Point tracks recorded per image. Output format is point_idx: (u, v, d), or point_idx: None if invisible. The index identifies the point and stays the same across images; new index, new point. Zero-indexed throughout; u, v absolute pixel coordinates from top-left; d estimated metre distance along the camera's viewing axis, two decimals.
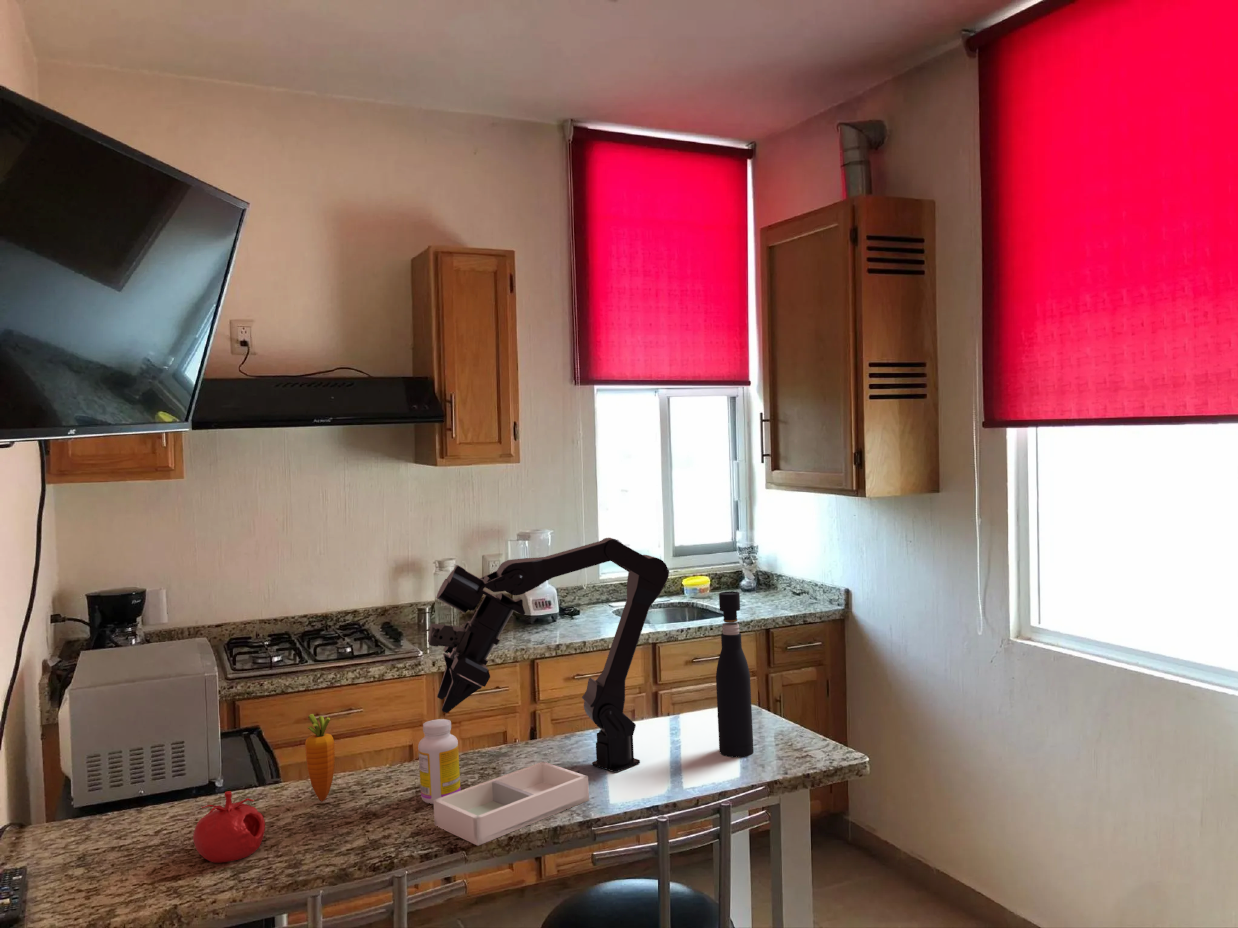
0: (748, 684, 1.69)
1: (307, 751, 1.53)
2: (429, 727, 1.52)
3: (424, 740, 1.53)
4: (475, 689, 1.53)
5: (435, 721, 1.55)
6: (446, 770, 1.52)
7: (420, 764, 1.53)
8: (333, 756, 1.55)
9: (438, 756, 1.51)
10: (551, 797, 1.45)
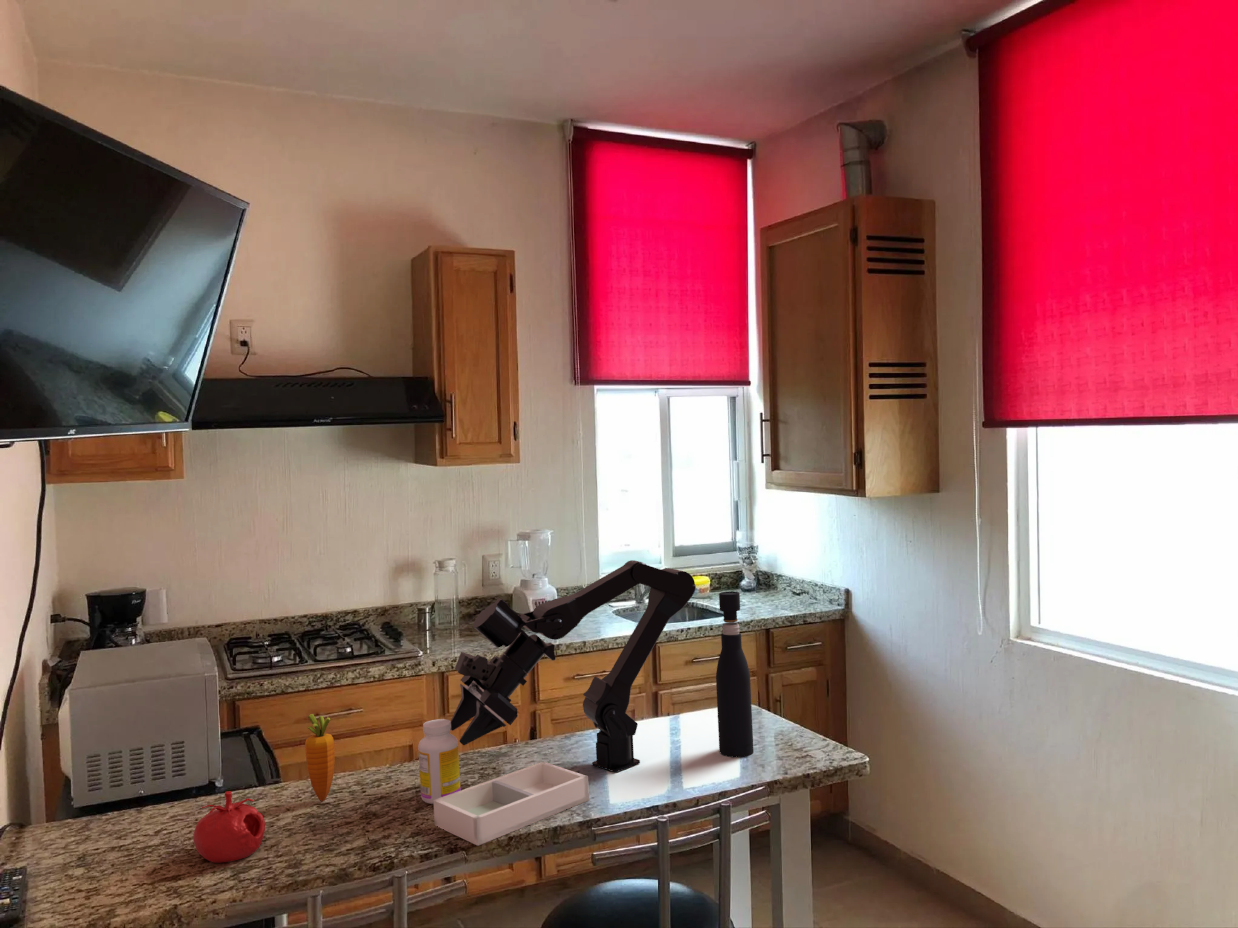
0: (748, 684, 1.69)
1: (307, 751, 1.53)
2: (429, 727, 1.52)
3: (424, 740, 1.53)
4: (498, 726, 1.51)
5: (435, 721, 1.55)
6: (446, 770, 1.52)
7: (420, 764, 1.53)
8: (333, 756, 1.55)
9: (438, 756, 1.51)
10: (551, 797, 1.45)
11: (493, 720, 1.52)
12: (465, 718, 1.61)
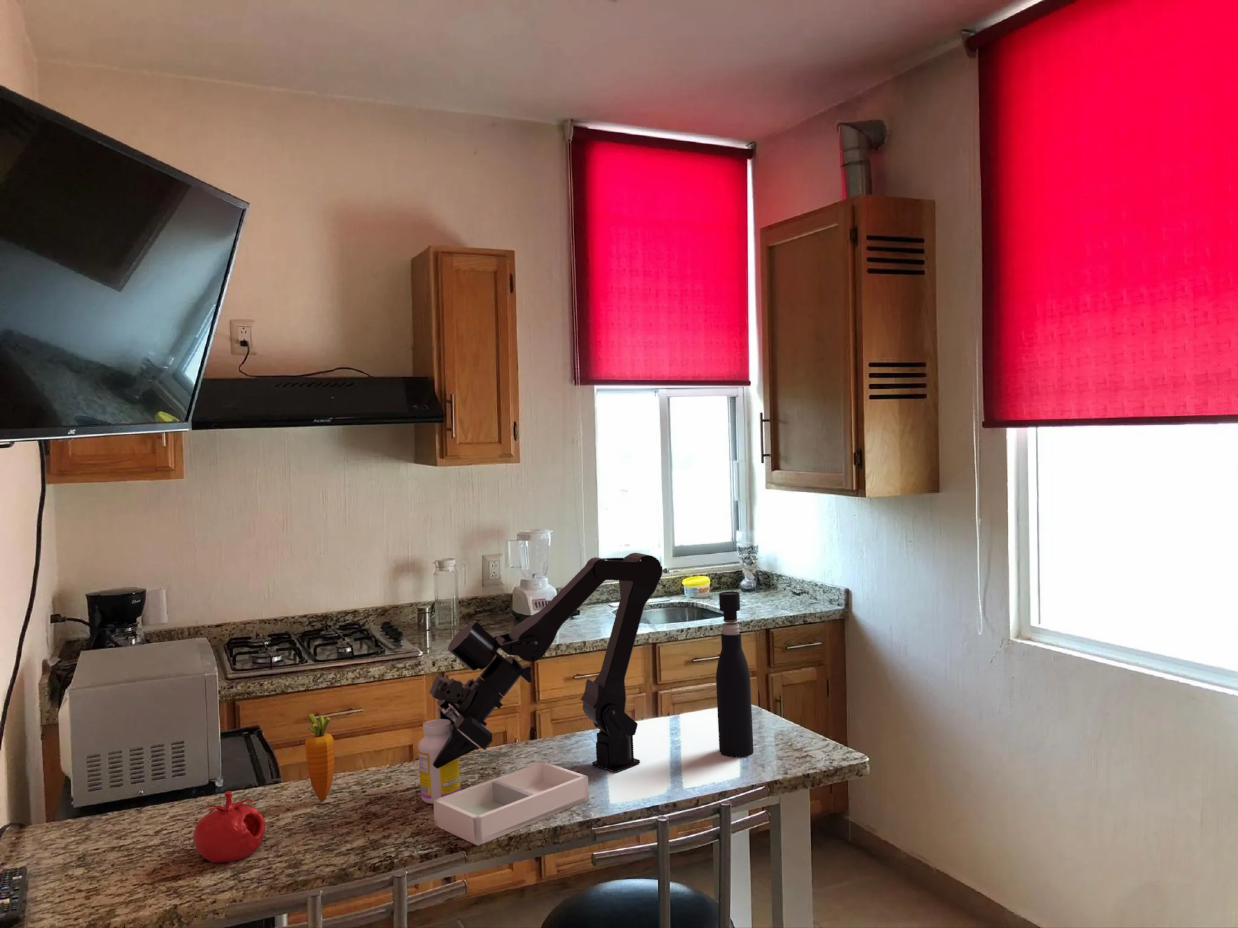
0: (748, 684, 1.69)
1: (307, 751, 1.53)
2: (429, 727, 1.52)
3: (424, 740, 1.53)
4: (471, 749, 1.51)
5: (435, 721, 1.55)
6: (446, 770, 1.52)
7: (420, 764, 1.53)
8: (333, 756, 1.55)
9: None
10: (551, 797, 1.45)
11: (466, 743, 1.51)
12: None
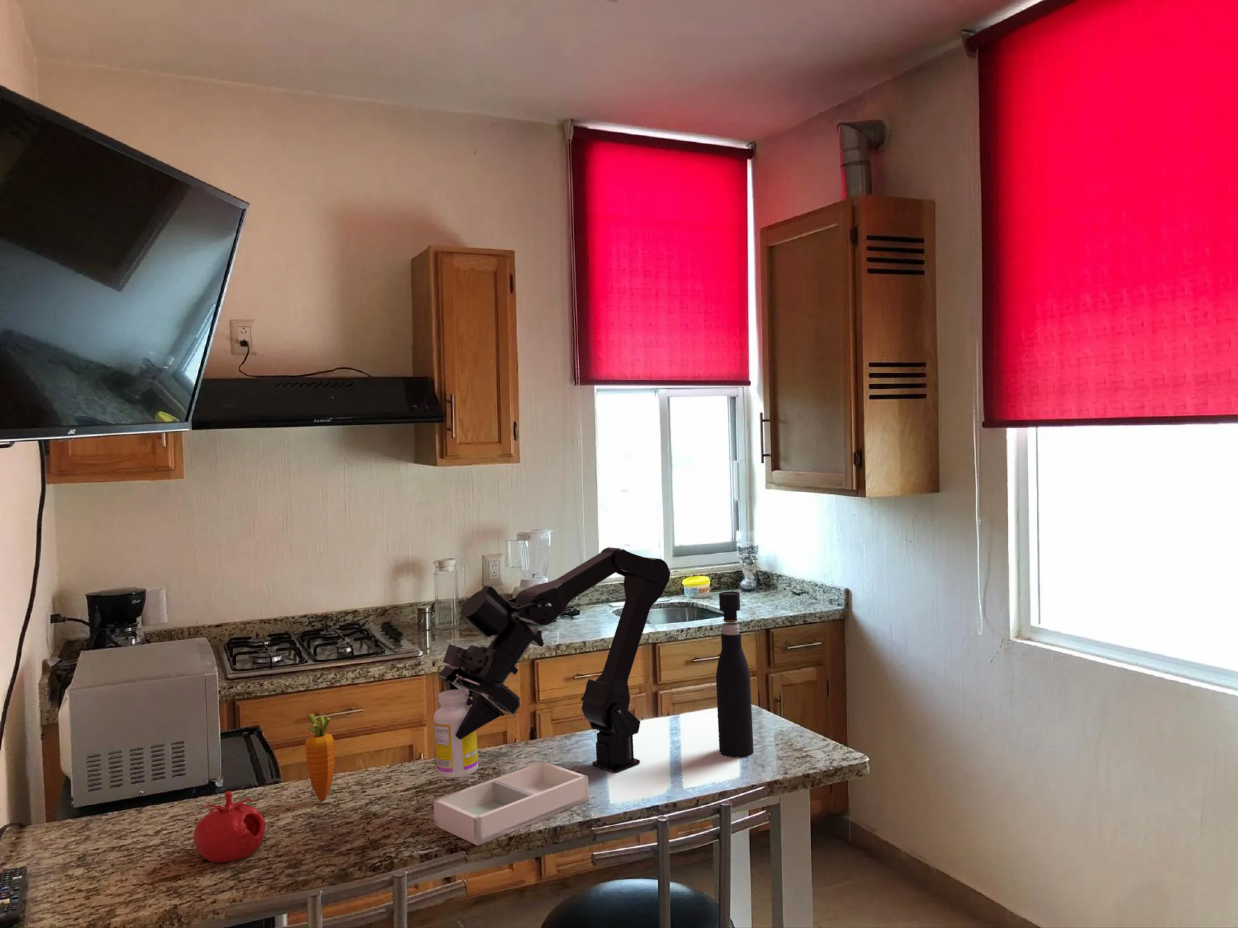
0: (748, 684, 1.69)
1: (307, 751, 1.53)
2: (448, 697, 1.45)
3: (442, 712, 1.46)
4: (495, 716, 1.46)
5: (449, 692, 1.48)
6: (468, 741, 1.45)
7: (438, 737, 1.45)
8: (333, 756, 1.55)
9: None
10: (551, 797, 1.45)
11: (490, 710, 1.46)
12: None
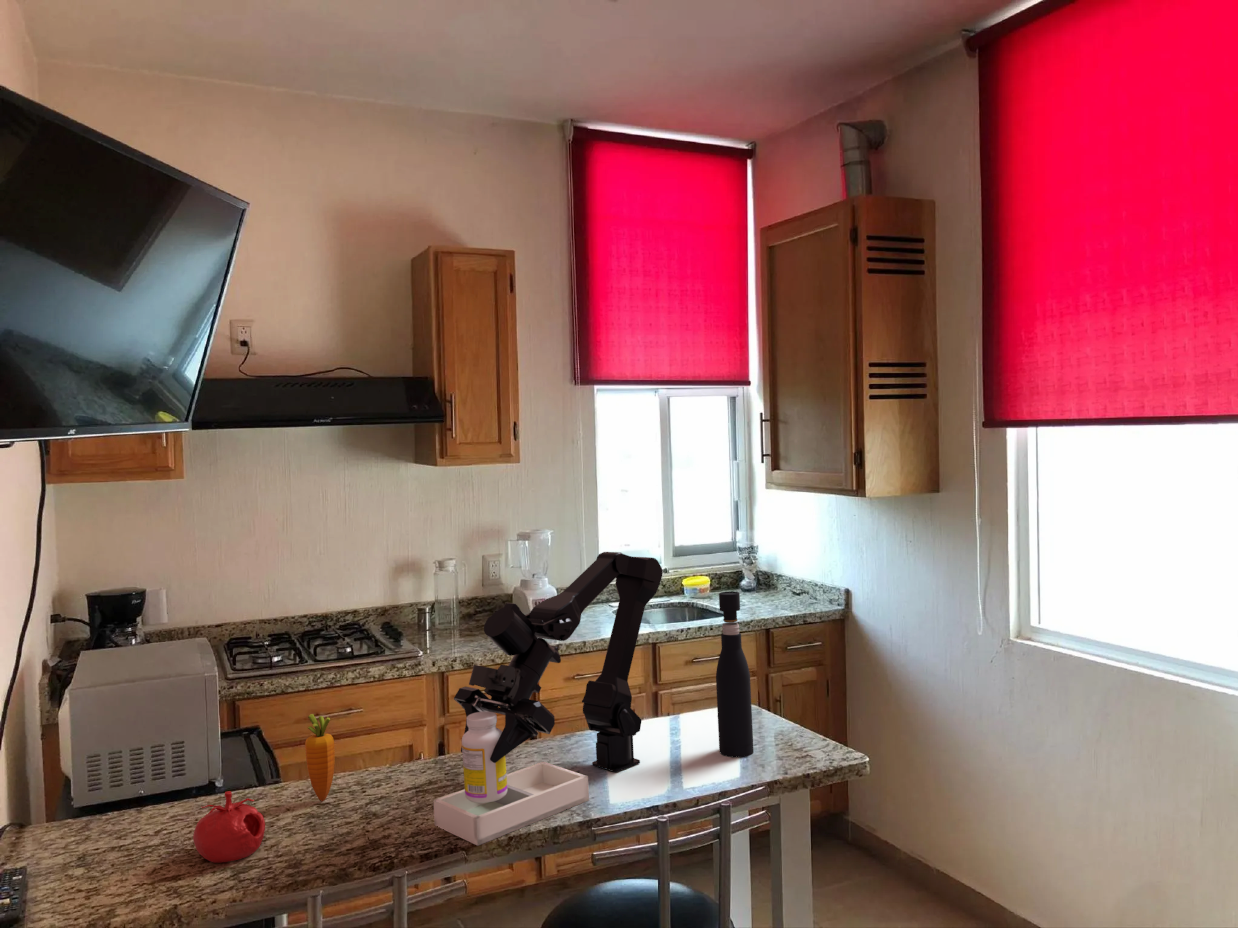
0: (748, 684, 1.69)
1: (307, 751, 1.53)
2: (480, 720, 1.40)
3: (473, 736, 1.40)
4: (528, 736, 1.42)
5: (476, 714, 1.43)
6: (501, 764, 1.41)
7: (470, 762, 1.40)
8: (333, 756, 1.55)
9: None
10: (551, 797, 1.45)
11: (522, 731, 1.42)
12: None
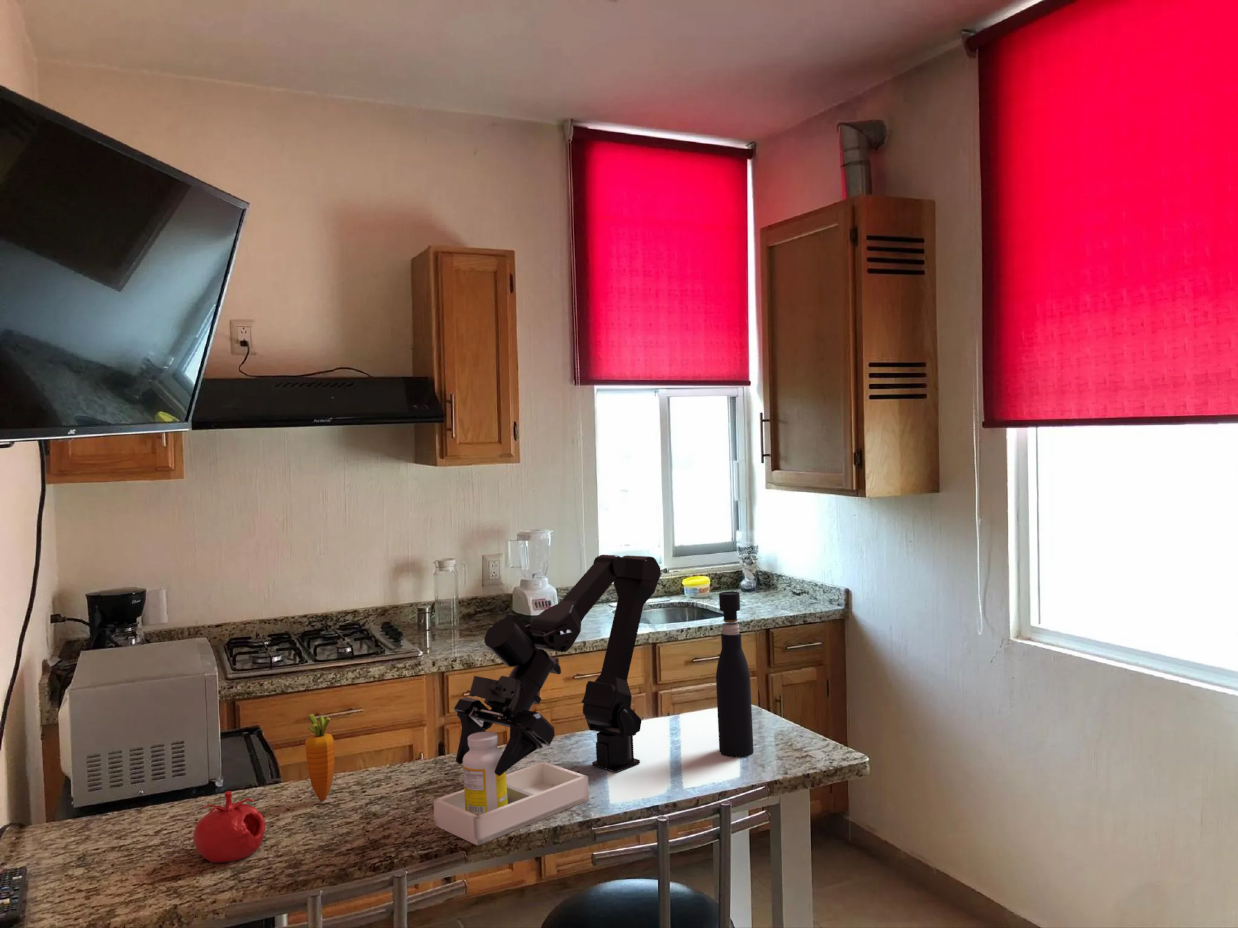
0: (748, 684, 1.69)
1: (307, 751, 1.53)
2: (481, 740, 1.41)
3: (474, 756, 1.41)
4: (533, 749, 1.42)
5: (477, 734, 1.44)
6: (501, 784, 1.41)
7: (471, 782, 1.40)
8: (333, 756, 1.55)
9: None
10: (551, 797, 1.45)
11: (527, 744, 1.41)
12: None
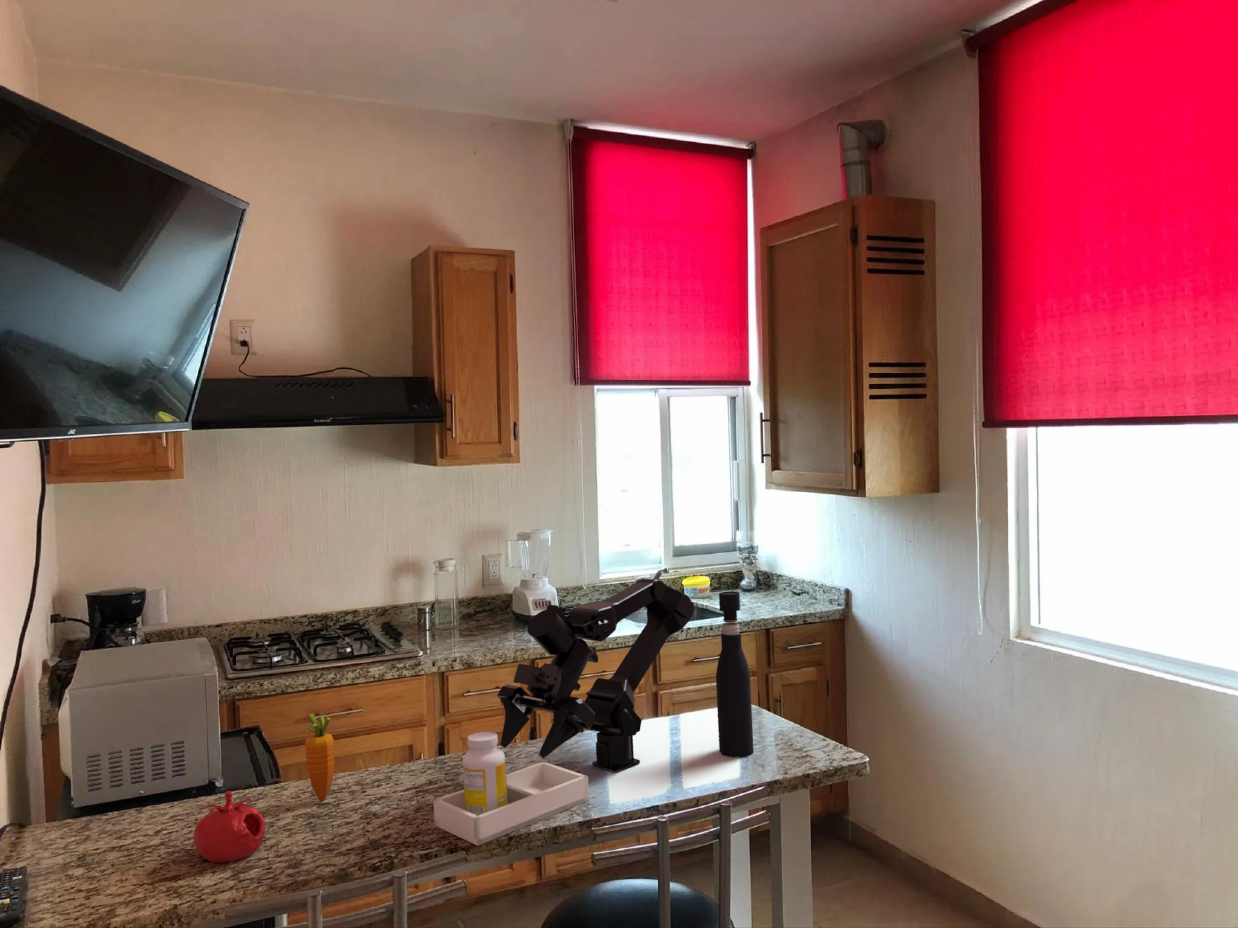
0: (748, 684, 1.69)
1: (307, 751, 1.53)
2: (481, 741, 1.41)
3: (474, 756, 1.41)
4: (575, 733, 1.49)
5: (477, 735, 1.43)
6: (501, 784, 1.41)
7: (471, 783, 1.40)
8: (333, 756, 1.55)
9: (495, 770, 1.40)
10: (551, 797, 1.45)
11: (569, 728, 1.49)
12: (514, 734, 1.54)
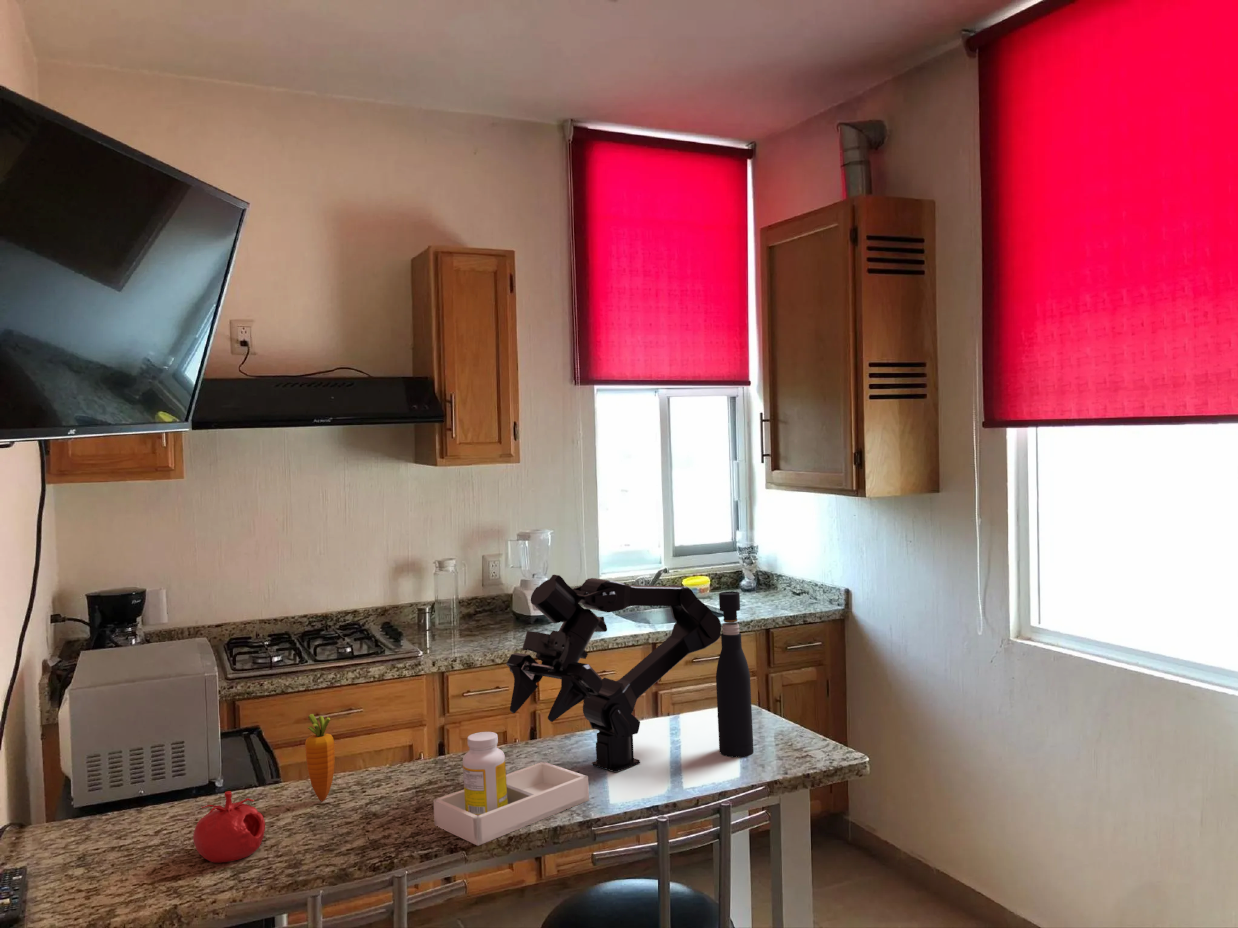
0: (748, 684, 1.69)
1: (307, 751, 1.53)
2: (481, 741, 1.41)
3: (474, 756, 1.41)
4: (582, 698, 1.53)
5: (477, 735, 1.43)
6: (501, 784, 1.41)
7: (471, 783, 1.40)
8: (333, 756, 1.55)
9: (495, 770, 1.40)
10: (551, 797, 1.45)
11: (577, 693, 1.53)
12: (523, 700, 1.58)
